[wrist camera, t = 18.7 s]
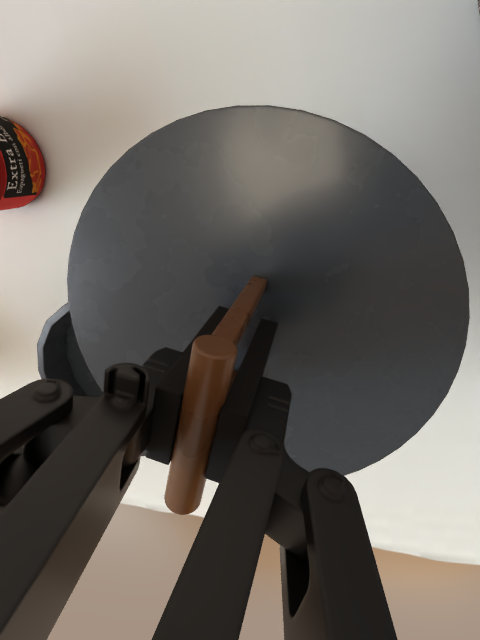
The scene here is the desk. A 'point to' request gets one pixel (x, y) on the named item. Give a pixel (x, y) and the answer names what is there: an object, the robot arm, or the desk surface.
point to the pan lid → (274, 281)
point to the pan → (65, 356)
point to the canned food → (19, 166)
